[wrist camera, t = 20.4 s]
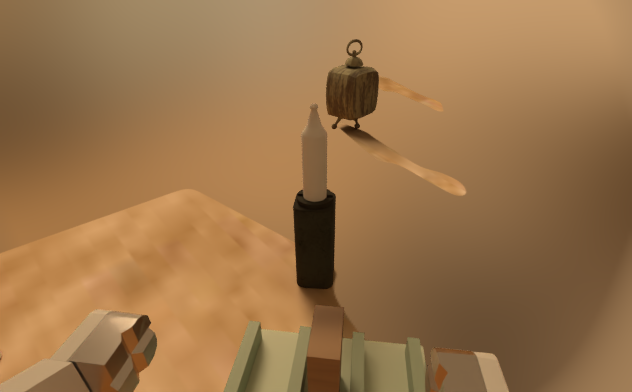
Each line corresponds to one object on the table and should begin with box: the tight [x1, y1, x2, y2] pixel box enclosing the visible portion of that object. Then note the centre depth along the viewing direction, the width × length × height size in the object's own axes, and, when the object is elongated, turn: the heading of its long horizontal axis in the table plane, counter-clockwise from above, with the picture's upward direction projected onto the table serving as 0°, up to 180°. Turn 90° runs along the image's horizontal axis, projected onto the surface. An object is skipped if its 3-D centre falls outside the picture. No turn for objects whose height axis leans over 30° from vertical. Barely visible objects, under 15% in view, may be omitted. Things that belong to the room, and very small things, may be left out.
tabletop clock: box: [326, 39, 379, 129], centre depth 99 cm, size 14×9×25 cm, turn 137°
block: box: [307, 305, 344, 392], centre depth 30 cm, size 5×2×10 cm, turn 172°
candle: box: [293, 103, 336, 289], centre depth 43 cm, size 5×5×25 cm
